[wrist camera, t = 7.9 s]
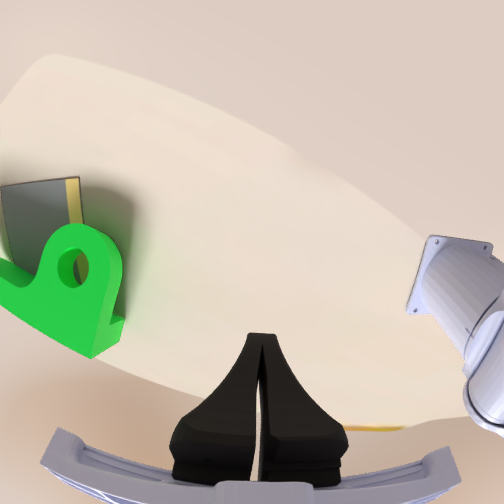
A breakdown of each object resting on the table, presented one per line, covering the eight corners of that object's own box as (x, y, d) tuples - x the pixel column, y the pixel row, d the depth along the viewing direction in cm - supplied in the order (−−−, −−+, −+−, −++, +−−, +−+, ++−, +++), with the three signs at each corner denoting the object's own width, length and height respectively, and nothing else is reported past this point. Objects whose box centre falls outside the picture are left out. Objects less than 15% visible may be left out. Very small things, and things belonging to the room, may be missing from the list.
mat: (79, 177, 20) (78, 178, 19) (102, 315, 25) (101, 315, 25) (1, 187, 20) (0, 187, 20) (25, 297, 25) (24, 297, 25)
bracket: (146, 249, 26) (123, 238, 19) (119, 341, 25) (91, 359, 17) (15, 199, 24) (-19, 182, 17) (-5, 273, 23) (-43, 270, 16)
